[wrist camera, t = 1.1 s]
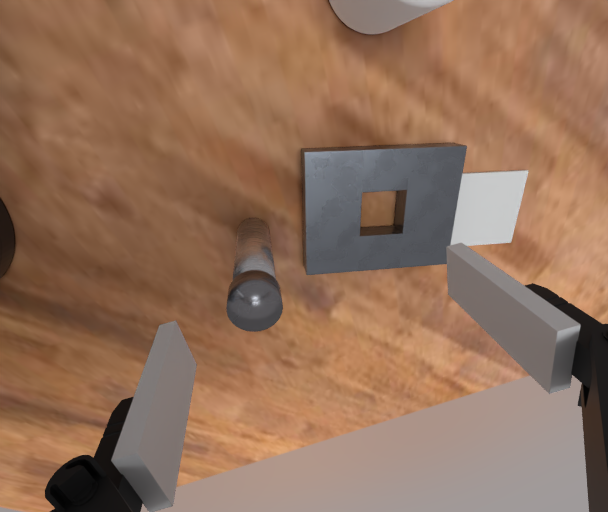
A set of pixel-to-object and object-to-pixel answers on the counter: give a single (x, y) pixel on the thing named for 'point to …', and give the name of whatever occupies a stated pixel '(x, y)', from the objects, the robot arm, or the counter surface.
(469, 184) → the pad
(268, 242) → the key peg
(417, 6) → the beverage can
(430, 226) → the plate
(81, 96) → the counter surface
